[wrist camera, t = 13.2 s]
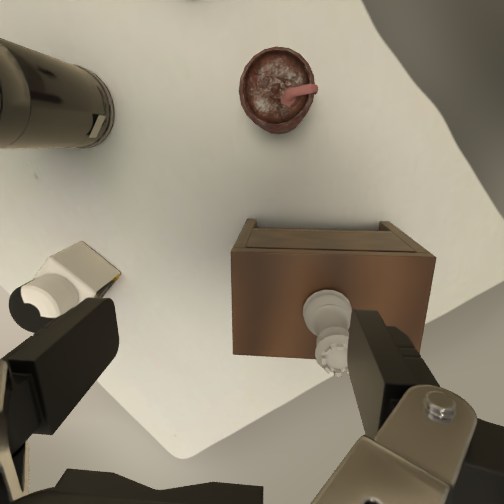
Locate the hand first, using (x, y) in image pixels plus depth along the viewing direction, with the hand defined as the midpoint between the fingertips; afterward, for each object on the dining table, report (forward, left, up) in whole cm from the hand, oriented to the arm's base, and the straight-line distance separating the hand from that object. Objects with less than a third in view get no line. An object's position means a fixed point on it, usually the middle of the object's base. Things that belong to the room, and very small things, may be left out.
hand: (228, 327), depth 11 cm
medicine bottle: (-26, -12, -33) cm, 44 cm away
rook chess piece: (+6, -9, -19) cm, 22 cm away
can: (+1, +10, -33) cm, 35 cm away
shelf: (+6, -9, -33) cm, 35 cm away
